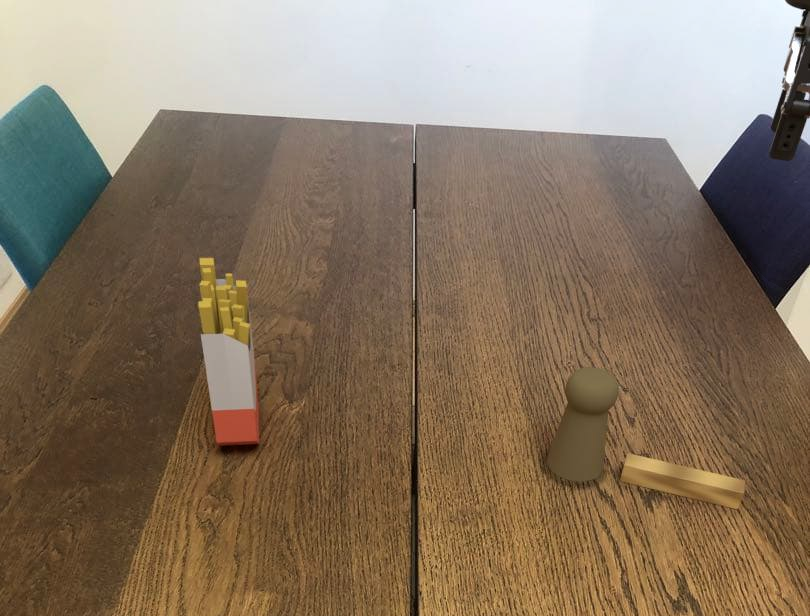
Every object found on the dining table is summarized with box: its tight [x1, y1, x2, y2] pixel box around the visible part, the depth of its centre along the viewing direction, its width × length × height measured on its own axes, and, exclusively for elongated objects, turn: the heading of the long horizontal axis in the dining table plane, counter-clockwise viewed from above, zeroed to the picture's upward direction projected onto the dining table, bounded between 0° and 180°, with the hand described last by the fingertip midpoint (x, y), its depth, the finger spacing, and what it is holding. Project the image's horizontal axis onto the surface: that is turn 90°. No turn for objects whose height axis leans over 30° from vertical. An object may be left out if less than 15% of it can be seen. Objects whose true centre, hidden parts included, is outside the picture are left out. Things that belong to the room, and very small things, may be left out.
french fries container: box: [197, 257, 260, 447], centre depth 83 cm, size 5×11×18 cm, turn 8°
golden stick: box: [619, 452, 746, 510], centre depth 84 cm, size 12×2×2 cm, turn 71°
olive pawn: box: [546, 366, 620, 483], centre depth 84 cm, size 6×6×11 cm
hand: (780, 144), depth 80 cm, fingers open, 8 cm apart
